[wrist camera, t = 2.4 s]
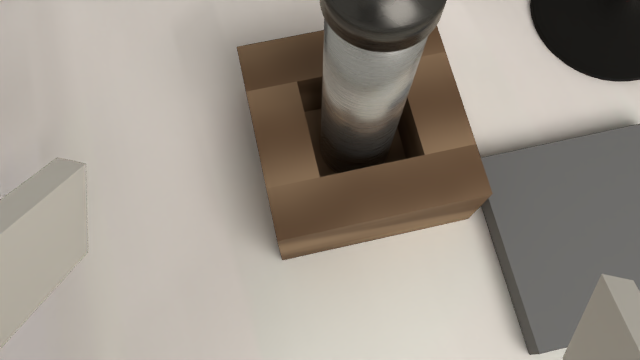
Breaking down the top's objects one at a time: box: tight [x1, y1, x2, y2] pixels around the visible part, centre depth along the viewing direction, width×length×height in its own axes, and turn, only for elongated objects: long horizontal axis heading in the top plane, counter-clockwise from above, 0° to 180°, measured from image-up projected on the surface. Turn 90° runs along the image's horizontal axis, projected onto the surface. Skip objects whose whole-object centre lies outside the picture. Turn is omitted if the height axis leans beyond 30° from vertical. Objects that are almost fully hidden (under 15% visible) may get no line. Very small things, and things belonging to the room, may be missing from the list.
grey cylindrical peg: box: [320, 0, 447, 173], centre depth 27 cm, size 4×4×16 cm
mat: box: [481, 124, 640, 355], centre depth 33 cm, size 11×11×2 cm
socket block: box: [237, 26, 493, 260], centre depth 33 cm, size 11×11×5 cm
